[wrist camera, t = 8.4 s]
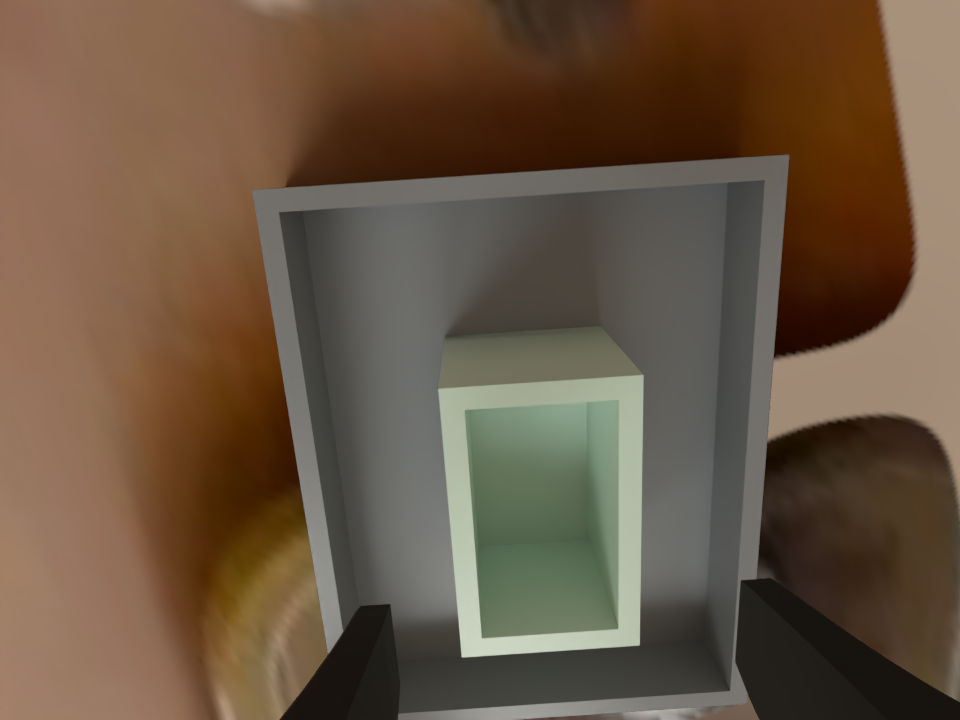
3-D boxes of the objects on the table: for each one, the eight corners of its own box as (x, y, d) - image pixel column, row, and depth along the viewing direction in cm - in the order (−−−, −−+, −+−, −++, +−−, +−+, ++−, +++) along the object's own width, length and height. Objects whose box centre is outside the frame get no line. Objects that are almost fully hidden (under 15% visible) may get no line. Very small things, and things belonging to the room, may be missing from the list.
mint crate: (602, 543, 22) (639, 645, 17) (462, 553, 22) (461, 657, 17) (600, 325, 20) (643, 375, 15) (444, 336, 20) (438, 388, 15)
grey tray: (713, 640, 24) (746, 703, 21) (355, 665, 24) (340, 731, 21) (740, 157, 19) (789, 154, 16) (284, 187, 19) (251, 190, 16)
